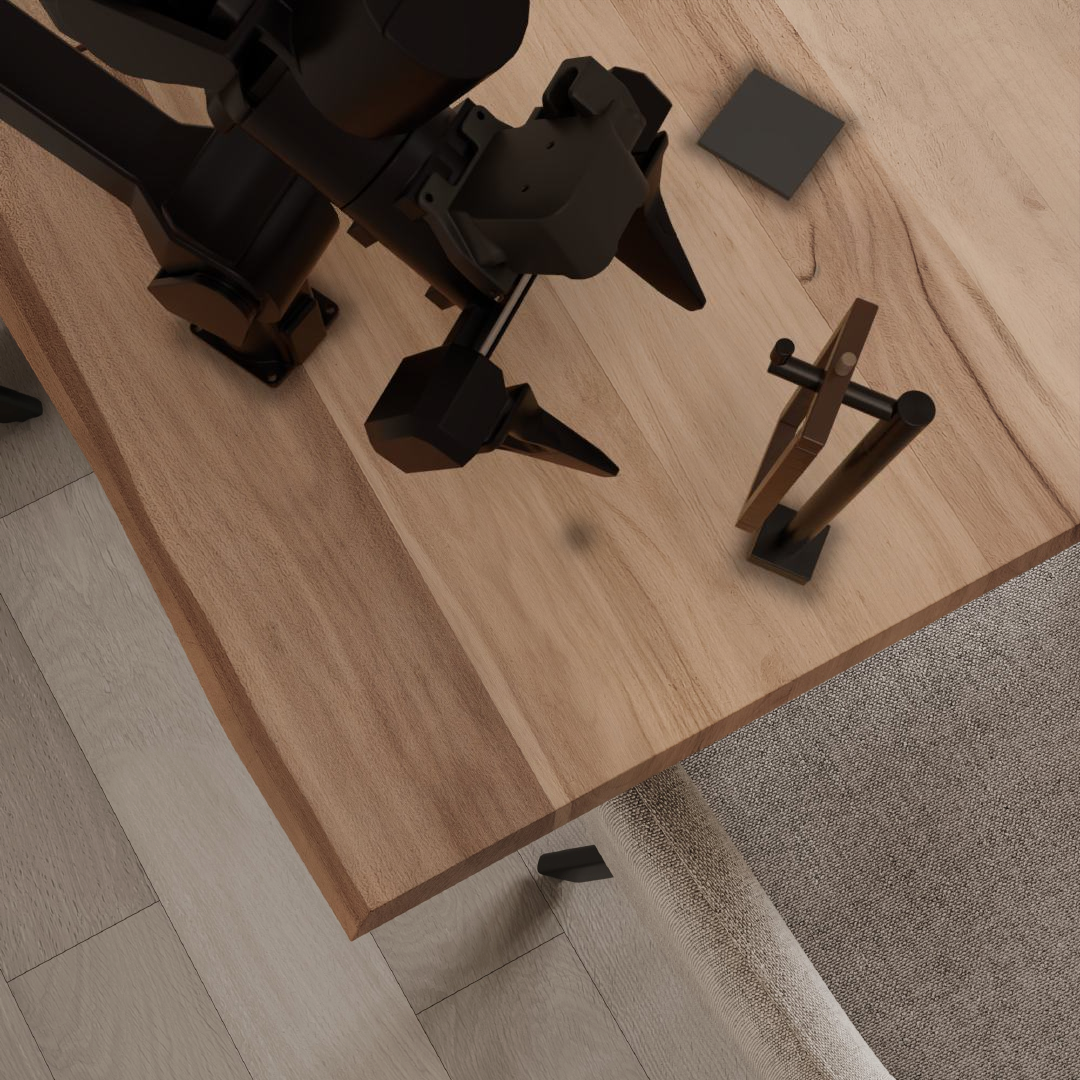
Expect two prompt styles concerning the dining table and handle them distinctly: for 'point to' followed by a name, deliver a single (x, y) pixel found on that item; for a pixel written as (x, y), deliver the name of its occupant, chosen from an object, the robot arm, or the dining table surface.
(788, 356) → the black hanging stand
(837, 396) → the rectangular frame
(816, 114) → the felt mat
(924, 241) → the dining table surface
